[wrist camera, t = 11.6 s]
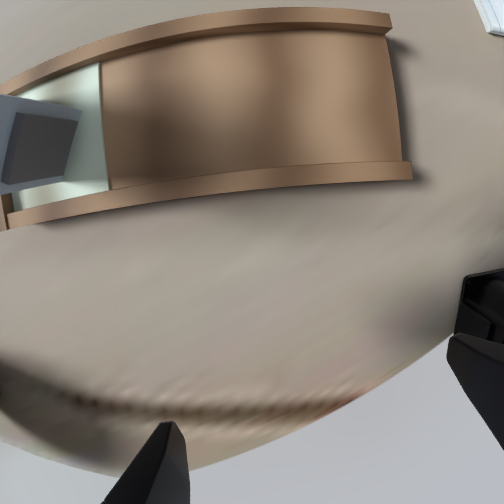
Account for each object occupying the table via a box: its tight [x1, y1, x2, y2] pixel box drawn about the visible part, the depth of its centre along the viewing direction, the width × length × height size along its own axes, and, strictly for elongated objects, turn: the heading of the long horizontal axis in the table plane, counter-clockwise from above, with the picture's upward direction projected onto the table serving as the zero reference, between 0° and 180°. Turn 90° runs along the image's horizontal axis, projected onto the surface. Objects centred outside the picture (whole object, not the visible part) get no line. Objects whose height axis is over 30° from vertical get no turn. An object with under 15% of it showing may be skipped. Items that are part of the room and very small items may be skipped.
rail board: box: [0, 7, 412, 232], centre depth 16 cm, size 26×10×3 cm, turn 96°
